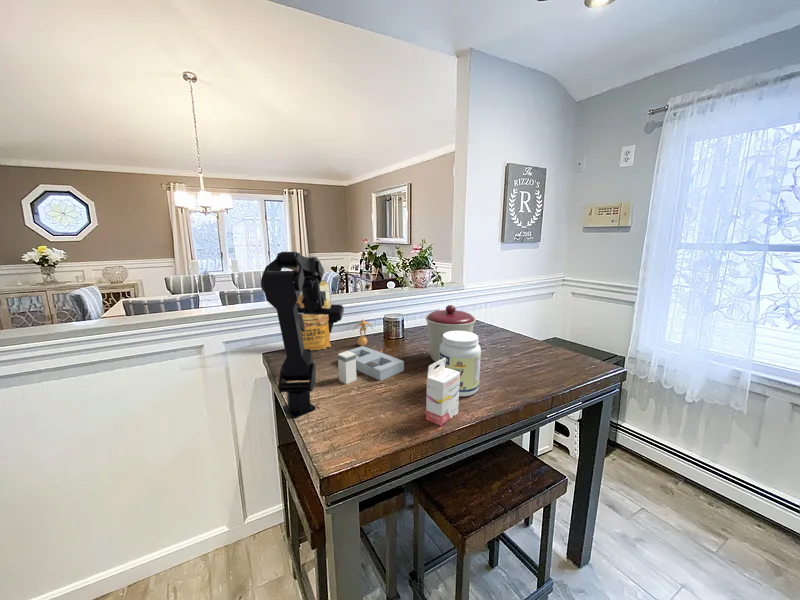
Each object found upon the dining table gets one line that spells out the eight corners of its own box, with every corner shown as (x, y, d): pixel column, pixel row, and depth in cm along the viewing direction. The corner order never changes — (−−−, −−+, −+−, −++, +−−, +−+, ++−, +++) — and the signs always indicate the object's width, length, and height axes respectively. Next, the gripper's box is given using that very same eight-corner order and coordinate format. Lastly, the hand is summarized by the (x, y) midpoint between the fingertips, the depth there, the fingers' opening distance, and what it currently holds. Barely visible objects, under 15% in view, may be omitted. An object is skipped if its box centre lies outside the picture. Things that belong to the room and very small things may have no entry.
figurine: (371, 343, 142) (370, 316, 140) (374, 347, 137) (374, 319, 134) (351, 345, 140) (351, 317, 137) (354, 350, 134) (353, 321, 131)
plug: (356, 380, 107) (355, 353, 105) (346, 384, 104) (345, 357, 102) (348, 376, 110) (347, 350, 108) (338, 380, 107) (337, 354, 105)
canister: (419, 367, 117) (420, 309, 113) (430, 350, 134) (431, 298, 129) (471, 373, 112) (474, 313, 107) (475, 354, 129) (478, 301, 124)
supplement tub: (431, 391, 100) (432, 337, 96) (448, 376, 110) (450, 327, 106) (469, 402, 93) (472, 345, 89) (484, 385, 103) (487, 333, 99)
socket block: (403, 370, 114) (404, 360, 113) (380, 380, 106) (380, 369, 106) (362, 354, 129) (362, 345, 128) (339, 362, 121) (339, 352, 121)
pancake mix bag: (285, 349, 135) (280, 281, 129) (332, 343, 141) (329, 278, 136) (285, 354, 129) (280, 283, 123) (334, 348, 135) (331, 281, 130)
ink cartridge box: (442, 427, 81) (443, 371, 78) (425, 420, 84) (426, 366, 81) (459, 412, 88) (461, 360, 85) (443, 406, 91) (444, 356, 88)
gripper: (344, 281, 112) (348, 318, 121) (290, 279, 112) (297, 316, 121) (338, 299, 103) (342, 338, 111) (278, 297, 103) (287, 336, 112)
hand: (317, 331), depth 114 cm, fingers open, 9 cm apart
